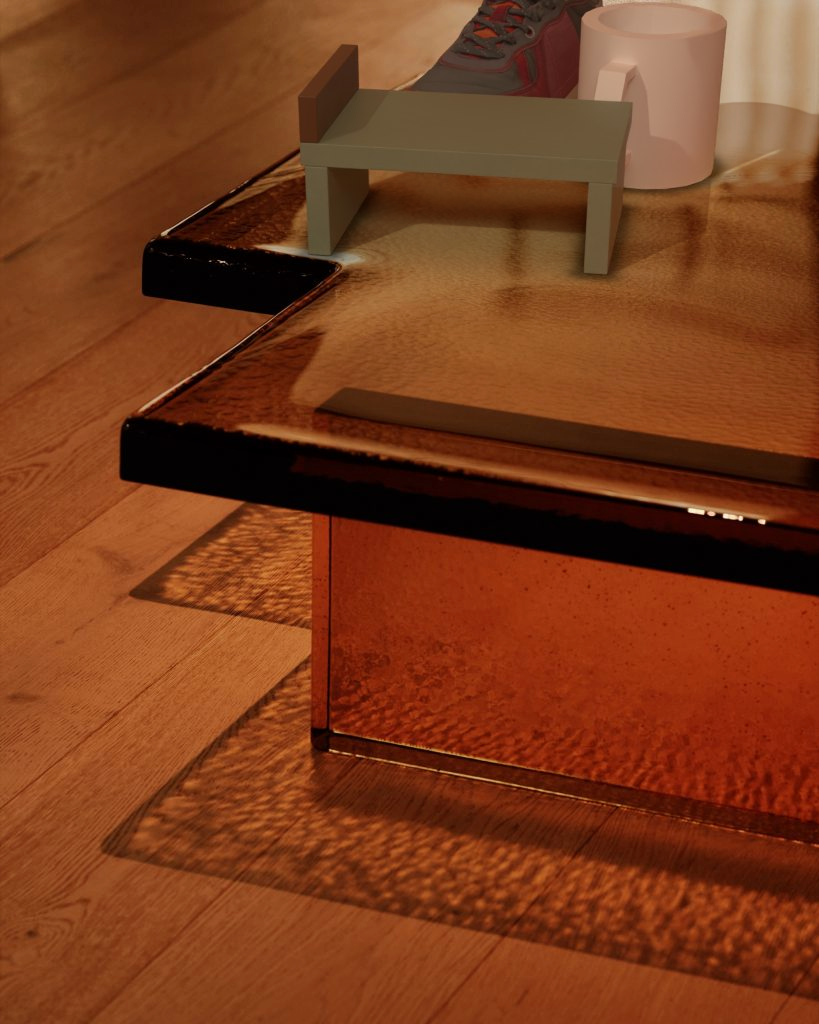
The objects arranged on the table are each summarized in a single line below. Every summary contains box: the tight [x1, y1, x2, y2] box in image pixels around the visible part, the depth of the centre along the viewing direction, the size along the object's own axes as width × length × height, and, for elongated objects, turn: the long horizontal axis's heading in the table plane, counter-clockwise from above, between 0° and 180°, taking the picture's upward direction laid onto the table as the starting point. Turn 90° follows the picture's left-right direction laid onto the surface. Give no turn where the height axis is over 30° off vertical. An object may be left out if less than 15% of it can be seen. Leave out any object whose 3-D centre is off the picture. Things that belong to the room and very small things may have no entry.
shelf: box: [297, 43, 633, 276], centre depth 105 cm, size 20×12×10 cm, turn 79°
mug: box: [578, 1, 728, 190], centre depth 115 cm, size 14×10×11 cm
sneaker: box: [406, 0, 604, 99], centre depth 126 cm, size 10×28×12 cm, turn 153°
